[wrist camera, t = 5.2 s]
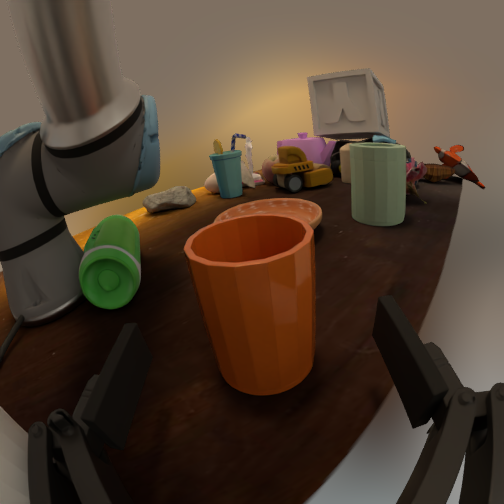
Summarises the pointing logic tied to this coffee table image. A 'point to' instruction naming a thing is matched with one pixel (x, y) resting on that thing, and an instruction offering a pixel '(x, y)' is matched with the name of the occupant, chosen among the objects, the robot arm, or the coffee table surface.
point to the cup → (228, 169)
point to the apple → (269, 167)
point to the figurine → (248, 156)
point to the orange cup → (257, 298)
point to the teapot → (311, 148)
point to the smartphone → (257, 182)
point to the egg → (212, 184)
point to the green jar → (378, 183)
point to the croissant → (438, 172)
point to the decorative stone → (169, 199)
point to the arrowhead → (247, 176)
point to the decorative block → (348, 105)
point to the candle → (345, 163)
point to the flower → (414, 176)
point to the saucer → (277, 209)
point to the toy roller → (298, 170)
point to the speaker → (111, 263)
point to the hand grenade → (336, 167)
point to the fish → (457, 164)
